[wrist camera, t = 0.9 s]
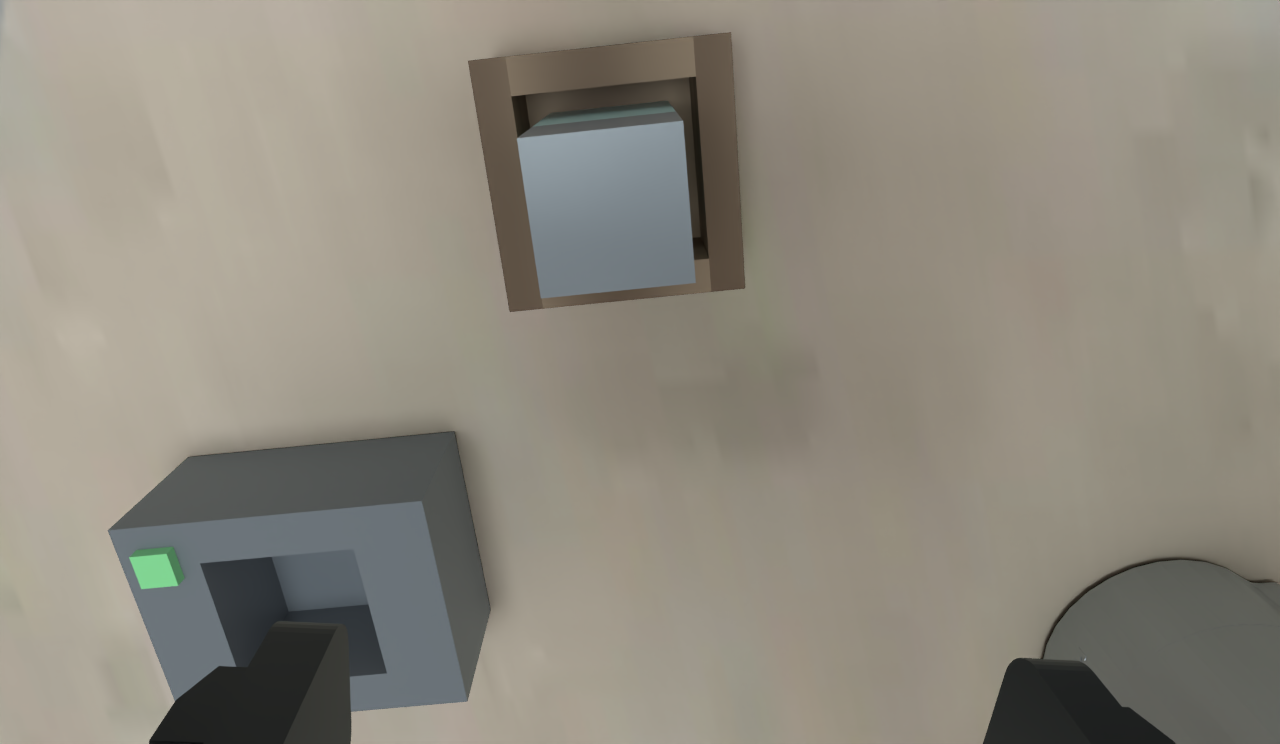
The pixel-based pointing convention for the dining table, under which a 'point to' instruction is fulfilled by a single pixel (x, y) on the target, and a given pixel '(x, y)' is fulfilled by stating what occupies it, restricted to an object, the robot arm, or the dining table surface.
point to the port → (315, 563)
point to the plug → (608, 199)
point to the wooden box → (605, 78)
